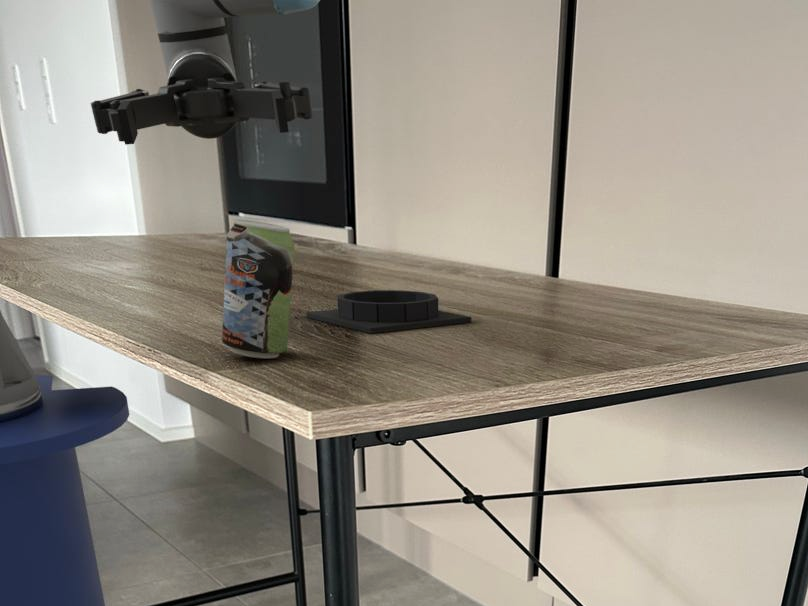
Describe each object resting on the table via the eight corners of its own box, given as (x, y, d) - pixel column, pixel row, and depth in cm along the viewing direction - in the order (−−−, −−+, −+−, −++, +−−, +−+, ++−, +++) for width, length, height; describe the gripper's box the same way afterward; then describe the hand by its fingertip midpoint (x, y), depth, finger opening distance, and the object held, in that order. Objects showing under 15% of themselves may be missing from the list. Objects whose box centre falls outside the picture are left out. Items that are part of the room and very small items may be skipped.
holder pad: (371, 333, 102) (370, 308, 101) (306, 317, 112) (304, 294, 111) (471, 322, 110) (471, 298, 109) (403, 307, 120) (402, 286, 118)
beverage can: (220, 352, 91) (205, 217, 86) (295, 348, 94) (285, 217, 88) (229, 365, 86) (213, 222, 81) (308, 360, 89) (298, 221, 83)
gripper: (326, 125, 104) (349, 156, 87) (92, 143, 100) (70, 179, 83) (316, 45, 100) (339, 62, 83) (71, 60, 96) (44, 81, 79)
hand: (204, 121), depth 83 cm, fingers open, 13 cm apart
